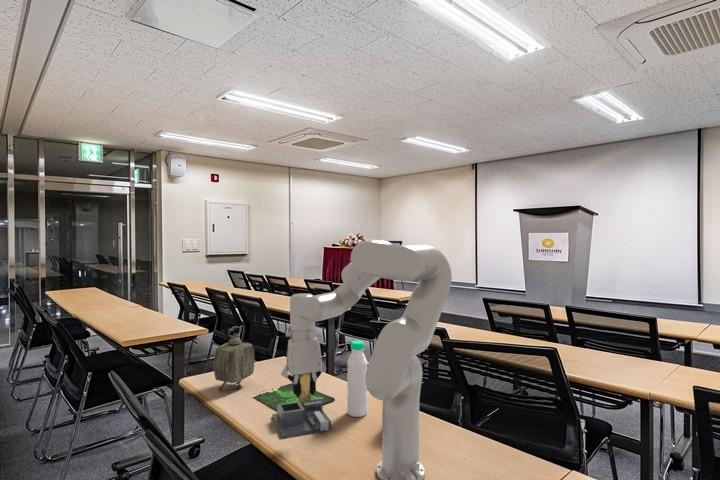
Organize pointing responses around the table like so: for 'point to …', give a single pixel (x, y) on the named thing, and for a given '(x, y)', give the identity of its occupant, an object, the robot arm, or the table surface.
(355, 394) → the water bottle
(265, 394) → the mouse mat
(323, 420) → the lock pin
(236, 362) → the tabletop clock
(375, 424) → the table surface
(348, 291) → the robot arm
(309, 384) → the peg
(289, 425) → the dock
